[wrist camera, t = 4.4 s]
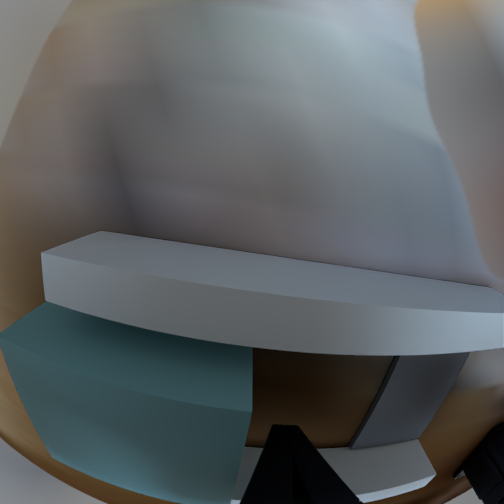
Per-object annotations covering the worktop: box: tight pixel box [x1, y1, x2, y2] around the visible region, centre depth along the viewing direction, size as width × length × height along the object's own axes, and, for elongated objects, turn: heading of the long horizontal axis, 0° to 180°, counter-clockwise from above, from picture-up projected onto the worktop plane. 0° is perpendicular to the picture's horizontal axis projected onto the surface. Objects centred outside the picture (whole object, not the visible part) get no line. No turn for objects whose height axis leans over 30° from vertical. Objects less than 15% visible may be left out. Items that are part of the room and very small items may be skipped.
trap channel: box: [41, 231, 504, 504], centre depth 8 cm, size 15×10×3 cm, turn 82°
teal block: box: [0, 301, 253, 504], centre depth 7 cm, size 6×6×4 cm
